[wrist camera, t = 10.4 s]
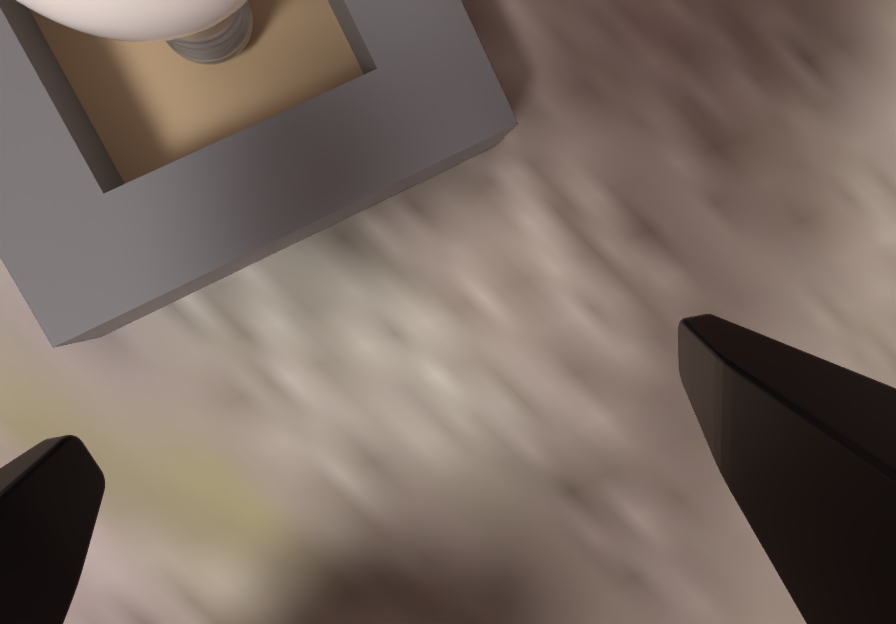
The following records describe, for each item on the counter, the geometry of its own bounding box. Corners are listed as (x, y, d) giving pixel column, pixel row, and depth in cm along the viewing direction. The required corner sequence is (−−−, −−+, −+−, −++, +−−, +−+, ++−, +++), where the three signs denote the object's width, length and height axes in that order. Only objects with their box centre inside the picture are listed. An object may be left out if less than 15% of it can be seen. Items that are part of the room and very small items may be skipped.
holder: (99, 337, 19) (52, 347, 16) (-149, -98, 18) (-252, -175, 15) (494, 146, 21) (518, 123, 18) (298, -269, 19) (288, -370, 16)
